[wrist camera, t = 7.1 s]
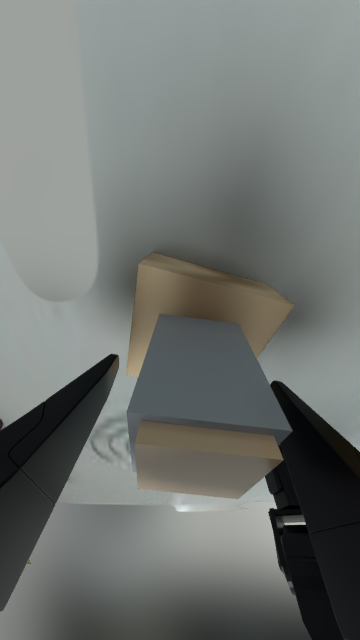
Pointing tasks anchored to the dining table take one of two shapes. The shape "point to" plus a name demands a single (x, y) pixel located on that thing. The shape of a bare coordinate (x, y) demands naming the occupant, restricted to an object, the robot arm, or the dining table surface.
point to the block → (200, 303)
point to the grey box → (203, 411)
